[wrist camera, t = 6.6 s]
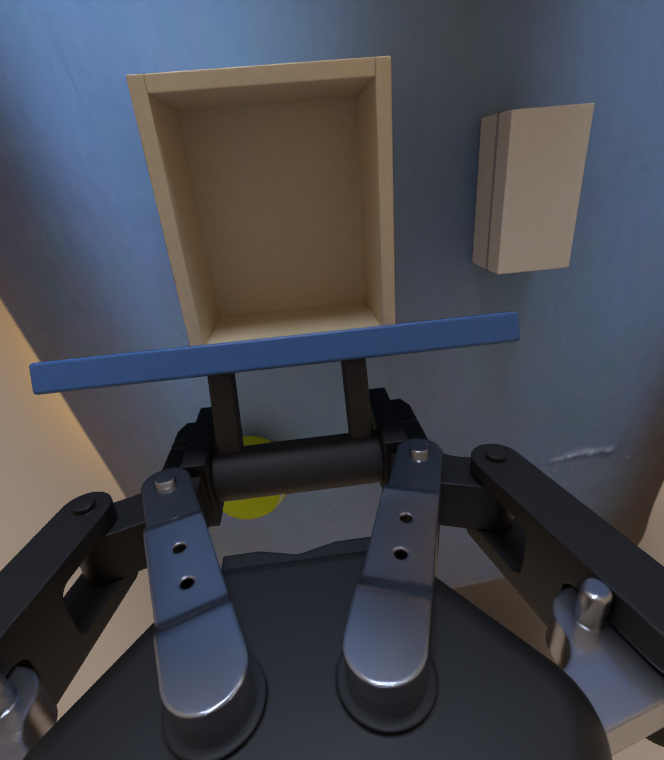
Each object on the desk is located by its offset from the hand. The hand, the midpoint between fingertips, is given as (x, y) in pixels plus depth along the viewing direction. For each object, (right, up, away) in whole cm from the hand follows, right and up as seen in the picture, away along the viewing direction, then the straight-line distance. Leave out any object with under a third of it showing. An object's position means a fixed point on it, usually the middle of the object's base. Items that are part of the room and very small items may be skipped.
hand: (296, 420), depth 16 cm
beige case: (+14, +15, +15) cm, 26 cm away
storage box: (-2, +13, +15) cm, 20 cm away
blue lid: (-1, +3, +3) cm, 4 cm away
